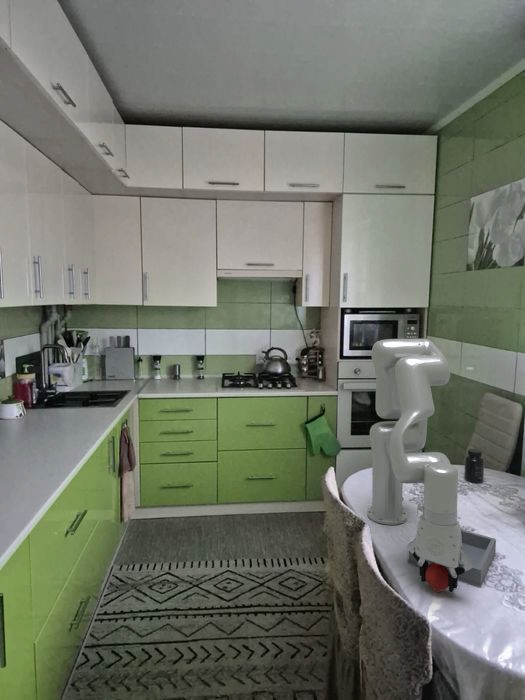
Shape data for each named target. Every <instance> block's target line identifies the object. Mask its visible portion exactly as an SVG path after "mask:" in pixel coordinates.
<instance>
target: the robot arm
mask: <svg viewBox="0 0 525 700" xmlns="http://www.w3.org/2000/svg"><path fill="white" fill-rule="evenodd" d="M371 360H372V364H373V368H374V372H375V377H376V381H375V412H376V414H377V416H378V417H380V418H381V419H384V420H386V421H379V422H376V423H373V425H372V426H371V427H370V429H369V440H370V446H371V456H372V457H371V458H372V461H371V463H372V468H371V469H372V470H371V471H372V472H371V473H372V475H371V477H372V483H371V484H372V485H371V487H372V490H371V491H372V492H371V493H372V495H371V497H372V499H371V506H370V507H368V509H367V511H366V512H367V517H368V518H370V520H371V521H373V522H376V523H378V524H381V525H387V526H393V525H394V526H395V525H401V524H403V523H405V522H406V521H407V519H408V514H407V512H406V511H405V509H403V502H404V499H405V498H404V496H403V484H411V485H412V484H423V503H422V504H419V503H418V505H417V510H418V511H421V513H422V514H421V515H419V518H418V522H417V530H416V534H415V535H416V536H415V539H414V540H412V541H410V542H409V543H408V544H407V545H406V548H407V550H408V552H409V551H410V552H411V553H412V554H413V557H414V558H415V559H416V560H417V562H418V565H419V566H420V567H419V566H418V567H419V570H418V571H419V573H418V574H419V577H420V579H421V580H420V582H421V583H425V582H427V581H426V579H425V571H426V569H427V567H428V562H427V561H426V560H428V561H431V562H434V563H437V564H440V565H443V566H446V567H449V569H450V572H451V575H450V576H449V586H448V592H449V593H451V594H453V592H454V590H455V589H458V588H457V587H458V583H459V582H458V581H459V580H458V576H459V575H461V574H463V573H464V572H465V571H468V570H470V569H472V567H473V563H472V562H471V561H470V559H469V558H468V557H467V556H466V554H465V553H464V552H463V551H462V535H461V524H460V521H459V520H458V495H459V494H458V493H459V492H458V491H459V471H458V468H457V467H456V466H454V465H453V464H451V462H450V459H449V458H448V457H447V455H445V454H444V453H442V452H437V451H429V452H425V451H424V452H416V451H421V450H422V449H423V448H424V447H425V445H426V442H427V433H428V431H427V430H428V418H430V417H432V416H433V415H434V414H435V412H436V410H435V409H436V408H435V404H434V399H433V395H432V394H433V393H432V388H431V387H435V386H437V387H438V386H445V385H446V384H448V383H449V381H450V377H451V369H450V365H449V362H448V360H447V358H446V356H445V355H444V354H443V353H442V351H441V350H440V349H439V348H438V347H437V346H436V345H435V343H433V341H432V340H430V339H428V338H390V339H389V338H388V339H387V338H386V339H381V340H378V341H376V342H375V343H374V344H373V346H372V349H371ZM387 420H388V421H387ZM389 420H390V421H389ZM391 420H393V421H391ZM394 420H395V421H394ZM409 451H410V452H409ZM414 451H415V452H414ZM460 560H461V561H462V562H463V563H464V565H461V566H458V565H459V562H460Z"/></svg>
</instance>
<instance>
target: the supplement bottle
mask: <svg viewBox="0 0 525 700" xmlns="http://www.w3.org/2000/svg"><path fill="white" fill-rule="evenodd" d="M482 456H483V453H482V450H480V449H478V448H469V449H468V450H467V456H465V457H464V470H463V471H464V473H463V474H464V480H465V481H466V482H468V483H470V484H482V483H483V482H484V475H485V459H484V458H483V457H482Z"/></svg>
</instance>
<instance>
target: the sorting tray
mask: <svg viewBox="0 0 525 700" xmlns="http://www.w3.org/2000/svg"><path fill="white" fill-rule="evenodd" d="M461 535H462V551H463V552H464V553H465V554H466V556H467V557H468V558H469V559H470V561H471V562H472V563H473V567H472V569H470V570H468V571H465V572H464V573H463V574H461V575H459V576H458V581H461V582H463V583H467V584H470V585H472V586H475V587H478V588H481V587H482V585H483V583H484V581H485V578H486V576H487V573H488V572H489V570H490V567H491V565H492V564H493V563H492V562H493V560H494V558H495V556H496V547H497V546H496V545H497V538H494V537H491V536H486V535H482V534H480V533H477V532H472V531H469V530H465V529H461ZM407 560H408V562H407V564H410V565H412V566H417V567H419V568H420V566H419V565H418V562H417V560H416V559H415V558H414V557H413V554H412V553H411V552H410V551H409V550H408V559H407ZM426 561H427V562H428V566H429V565H430V564H431V563H434V562H431V561H428V560H426ZM461 565H464V563H463V562H462V561H461V560H460V562H459V565H458V566H461ZM445 567H446V566H445ZM446 568H447V569H448V571H449V573H450V575H451V572H450V569H449V567H446Z"/></svg>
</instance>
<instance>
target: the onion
mask: <svg viewBox="0 0 525 700" xmlns="http://www.w3.org/2000/svg"><path fill="white" fill-rule="evenodd" d="M449 576H450V573H449V571H448V569H447V568H446V567H445V566H443V565H440V564H437V563H431V564H430V565H429V566H428V567H427V569H426V571H425V579H426V581H425V582H426V583H427V584H428V585H429V586H430V587H431V588H432V589H433V590H434V591H435V592H443V591H445V590H447V589H449Z"/></svg>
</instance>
